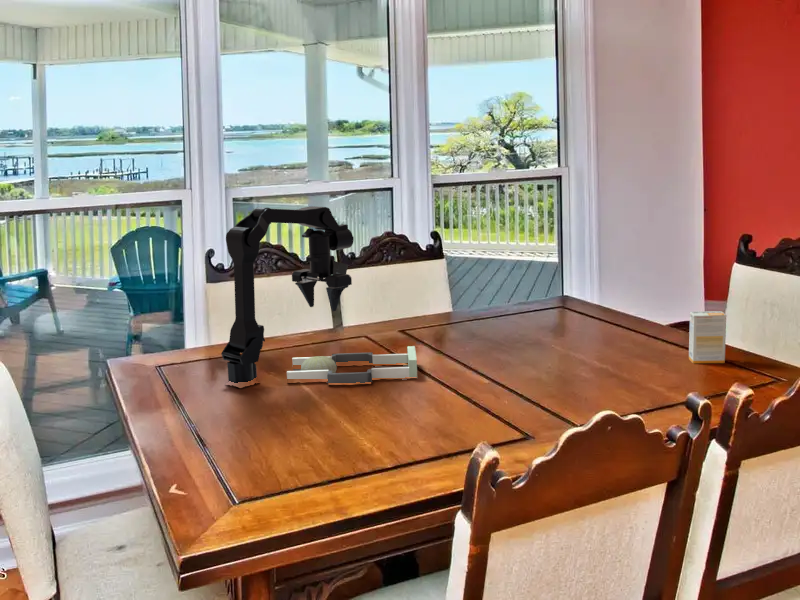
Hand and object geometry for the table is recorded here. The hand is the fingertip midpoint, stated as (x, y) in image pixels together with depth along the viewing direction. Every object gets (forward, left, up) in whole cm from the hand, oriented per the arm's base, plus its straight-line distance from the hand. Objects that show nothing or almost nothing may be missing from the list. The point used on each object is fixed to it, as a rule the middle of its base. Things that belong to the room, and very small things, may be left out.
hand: (322, 308), depth 228 cm
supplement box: (+60, -83, -15) cm, 103 cm away
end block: (+6, -27, -15) cm, 31 cm away
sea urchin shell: (-11, -9, -15) cm, 21 cm away
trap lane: (-5, -15, -15) cm, 22 cm away
